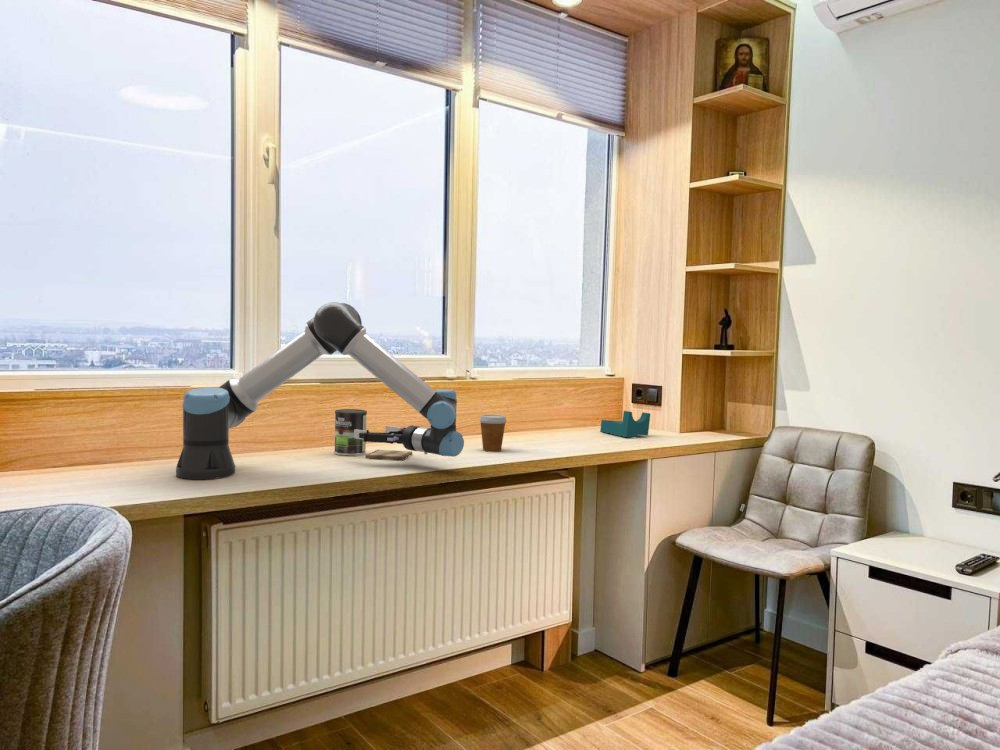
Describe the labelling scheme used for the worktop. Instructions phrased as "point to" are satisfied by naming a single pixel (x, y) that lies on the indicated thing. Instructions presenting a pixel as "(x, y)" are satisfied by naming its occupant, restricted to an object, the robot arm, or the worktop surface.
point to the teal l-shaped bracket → (627, 425)
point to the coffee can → (349, 431)
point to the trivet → (389, 454)
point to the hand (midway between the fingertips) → (370, 431)
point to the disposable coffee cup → (492, 431)
